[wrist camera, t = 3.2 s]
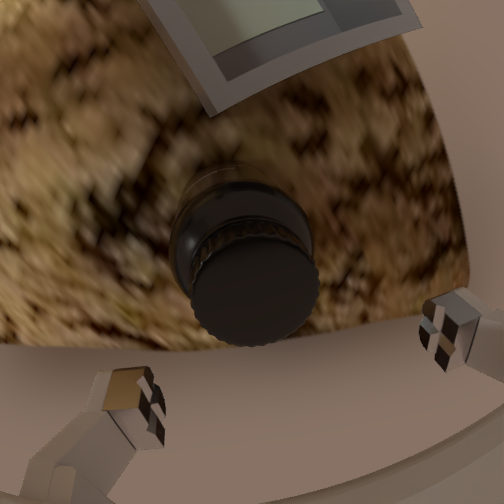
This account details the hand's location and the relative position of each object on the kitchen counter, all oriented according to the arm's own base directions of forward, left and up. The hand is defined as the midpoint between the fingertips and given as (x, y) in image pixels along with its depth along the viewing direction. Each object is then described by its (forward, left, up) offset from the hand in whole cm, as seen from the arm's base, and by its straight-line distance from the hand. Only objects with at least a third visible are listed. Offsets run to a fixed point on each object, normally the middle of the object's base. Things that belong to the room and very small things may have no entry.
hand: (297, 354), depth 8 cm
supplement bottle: (0, 0, -15) cm, 15 cm away
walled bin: (+15, +6, -15) cm, 22 cm away
